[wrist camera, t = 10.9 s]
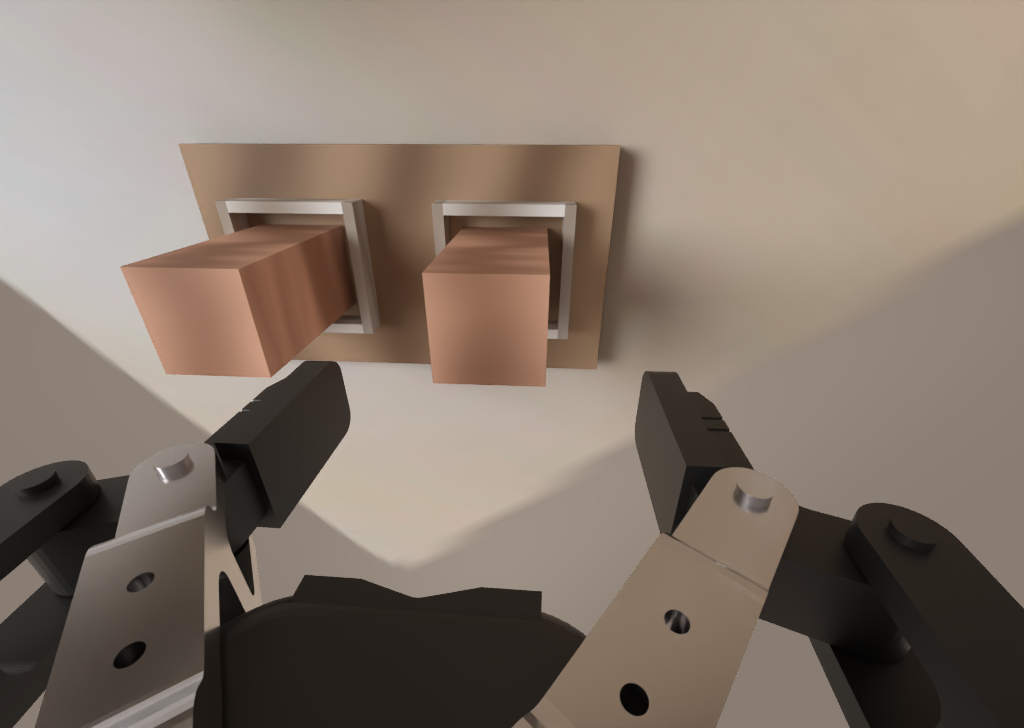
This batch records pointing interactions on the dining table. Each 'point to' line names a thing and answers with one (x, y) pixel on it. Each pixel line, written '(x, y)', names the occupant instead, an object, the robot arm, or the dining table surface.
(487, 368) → the pin
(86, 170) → the dining table surface
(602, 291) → the board
